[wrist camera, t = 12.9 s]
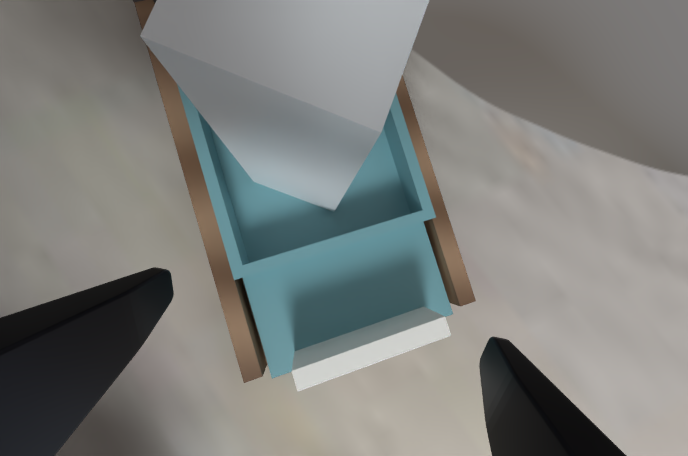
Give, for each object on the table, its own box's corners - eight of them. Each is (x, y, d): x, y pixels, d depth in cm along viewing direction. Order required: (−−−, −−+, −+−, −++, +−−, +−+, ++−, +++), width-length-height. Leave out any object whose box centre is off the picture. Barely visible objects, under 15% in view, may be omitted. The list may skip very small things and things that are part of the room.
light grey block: (361, 136, 19) (454, -71, 7) (334, 212, 19) (381, 132, 6) (284, 105, 19) (237, -171, 7) (253, 181, 18) (139, 35, 6)
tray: (447, 311, 20) (479, 325, 16) (273, 373, 18) (264, 403, 15) (366, 58, 21) (379, 15, 17) (193, 99, 19) (165, 61, 15)
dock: (461, 295, 21) (486, 303, 18) (249, 369, 19) (237, 391, 16) (353, -37, 22) (360, -83, 19) (143, 4, 20) (114, -40, 17)
